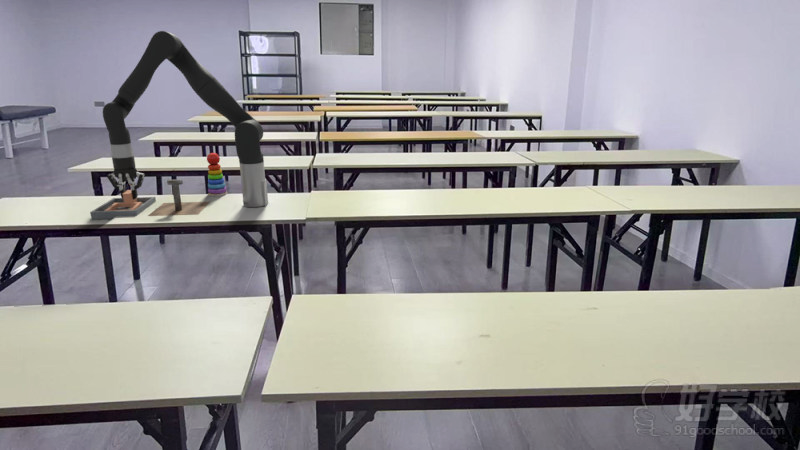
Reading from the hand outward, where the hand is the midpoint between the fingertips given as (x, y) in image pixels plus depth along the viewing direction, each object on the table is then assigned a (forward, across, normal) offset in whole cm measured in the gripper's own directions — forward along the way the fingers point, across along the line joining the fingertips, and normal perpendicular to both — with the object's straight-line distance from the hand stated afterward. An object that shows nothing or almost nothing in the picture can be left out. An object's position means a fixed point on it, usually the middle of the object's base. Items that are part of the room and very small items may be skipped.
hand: (129, 198), depth 203 cm
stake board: (+3, -21, +8) cm, 23 cm away
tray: (+4, 0, +6) cm, 7 cm away
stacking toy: (+4, -30, -14) cm, 33 cm away
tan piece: (+2, 0, +5) cm, 5 cm away
